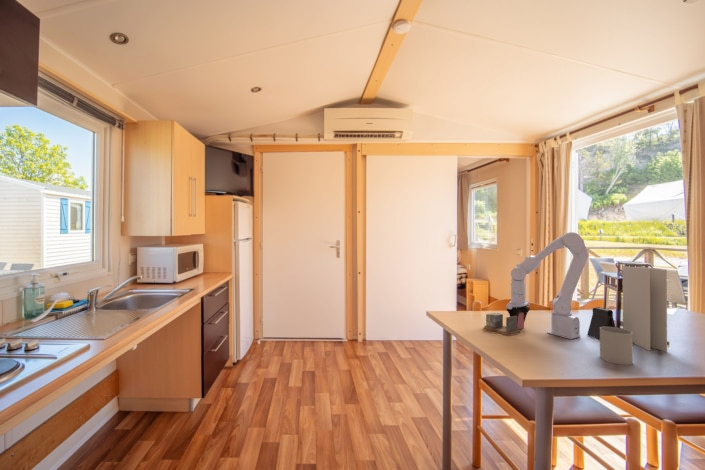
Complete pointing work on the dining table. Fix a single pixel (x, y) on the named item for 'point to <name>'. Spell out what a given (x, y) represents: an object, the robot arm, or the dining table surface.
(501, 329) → the grey slotted block
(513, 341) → the dining table surface
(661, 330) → the brochure
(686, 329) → the dining table surface
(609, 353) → the cup
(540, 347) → the dining table surface
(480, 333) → the dining table surface
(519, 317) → the burgundy book
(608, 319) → the door stopper
